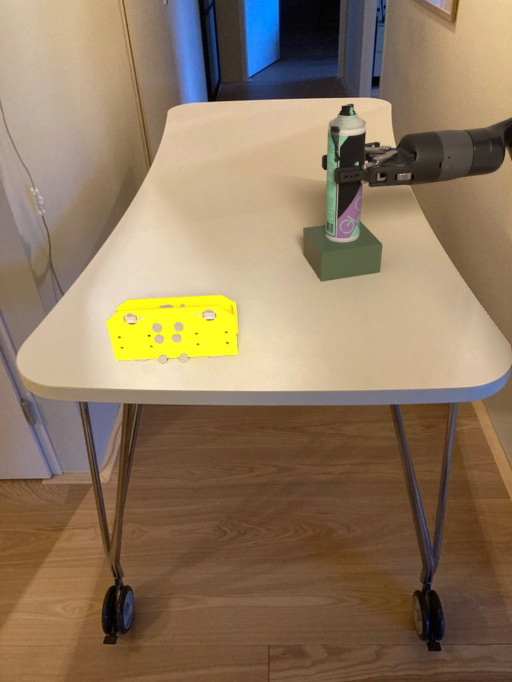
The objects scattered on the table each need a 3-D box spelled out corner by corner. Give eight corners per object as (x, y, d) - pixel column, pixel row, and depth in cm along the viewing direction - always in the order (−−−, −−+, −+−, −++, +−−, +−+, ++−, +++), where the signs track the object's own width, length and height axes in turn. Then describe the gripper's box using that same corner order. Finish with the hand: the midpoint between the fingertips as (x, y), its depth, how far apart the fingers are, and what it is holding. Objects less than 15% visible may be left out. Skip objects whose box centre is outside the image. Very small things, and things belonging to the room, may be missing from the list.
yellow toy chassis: (116, 367, 72) (102, 313, 67) (124, 342, 76) (112, 290, 72) (238, 361, 71) (233, 307, 66) (239, 336, 76) (234, 284, 71)
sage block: (380, 272, 89) (382, 243, 86) (320, 281, 87) (321, 253, 84) (357, 246, 97) (359, 219, 94) (303, 254, 95) (303, 227, 92)
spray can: (353, 244, 86) (361, 110, 74) (320, 239, 88) (322, 108, 77) (363, 230, 90) (372, 100, 78) (331, 226, 92) (335, 99, 80)
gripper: (417, 120, 88) (315, 131, 86) (460, 145, 76) (343, 158, 74) (412, 167, 92) (315, 178, 90) (452, 197, 81) (341, 210, 79)
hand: (328, 169), depth 82 cm, fingers open, 6 cm apart
